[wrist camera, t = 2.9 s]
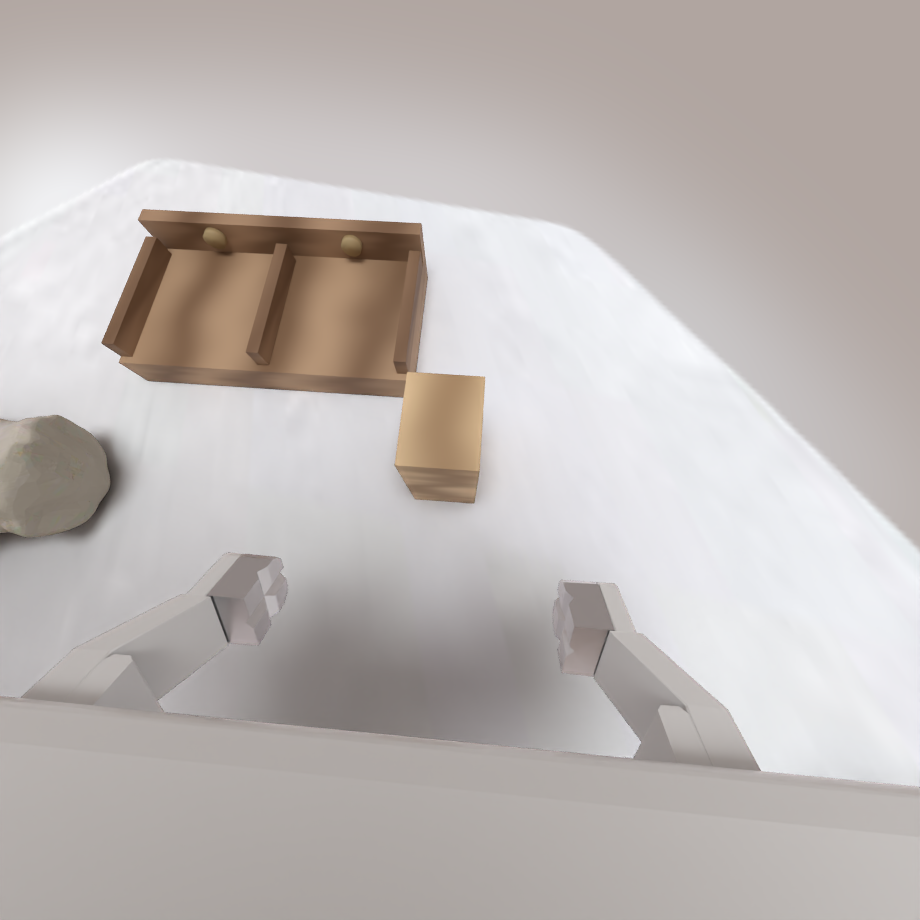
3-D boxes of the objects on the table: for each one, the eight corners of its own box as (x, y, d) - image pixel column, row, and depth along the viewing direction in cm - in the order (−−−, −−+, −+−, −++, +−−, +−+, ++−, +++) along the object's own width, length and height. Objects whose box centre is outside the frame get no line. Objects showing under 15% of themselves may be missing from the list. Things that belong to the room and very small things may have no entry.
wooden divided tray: (148, 380, 28) (85, 341, 23) (190, 264, 31) (142, 209, 27) (412, 397, 27) (402, 361, 23) (427, 277, 31) (421, 223, 26)
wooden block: (415, 499, 25) (394, 465, 18) (423, 428, 27) (407, 369, 19) (474, 503, 25) (479, 471, 18) (478, 432, 27) (485, 374, 19)
